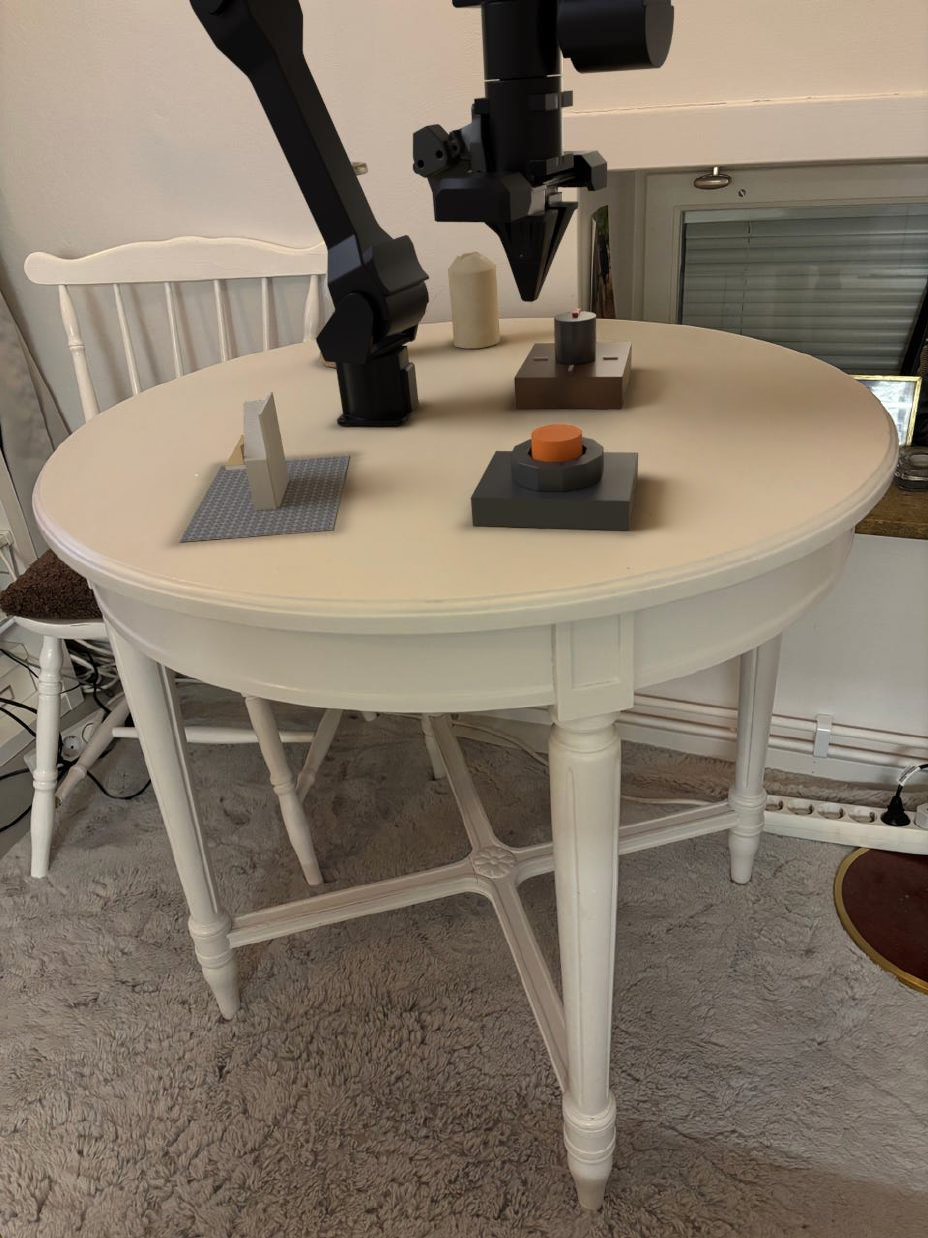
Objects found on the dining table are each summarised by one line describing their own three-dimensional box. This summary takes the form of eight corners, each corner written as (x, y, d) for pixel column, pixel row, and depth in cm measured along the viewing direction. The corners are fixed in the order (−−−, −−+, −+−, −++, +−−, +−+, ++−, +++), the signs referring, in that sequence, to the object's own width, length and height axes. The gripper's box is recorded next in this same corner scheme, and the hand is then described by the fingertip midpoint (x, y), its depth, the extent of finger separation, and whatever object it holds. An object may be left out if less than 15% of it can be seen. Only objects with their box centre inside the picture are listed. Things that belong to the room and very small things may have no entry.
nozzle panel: (515, 408, 86) (513, 375, 84) (535, 371, 96) (534, 341, 94) (621, 408, 83) (622, 374, 82) (631, 370, 93) (631, 339, 92)
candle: (500, 347, 105) (495, 256, 100) (453, 350, 105) (446, 259, 100) (499, 335, 110) (494, 247, 105) (454, 338, 110) (447, 251, 105)
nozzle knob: (593, 363, 86) (593, 317, 84) (551, 364, 87) (550, 318, 85) (598, 352, 89) (598, 307, 87) (558, 352, 90) (557, 308, 88)
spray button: (528, 464, 64) (527, 441, 63) (536, 446, 67) (535, 423, 66) (579, 465, 63) (578, 441, 62) (585, 446, 66) (584, 423, 65)
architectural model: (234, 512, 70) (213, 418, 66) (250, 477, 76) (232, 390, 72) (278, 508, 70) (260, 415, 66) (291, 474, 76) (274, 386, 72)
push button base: (472, 525, 64) (468, 473, 62) (497, 476, 72) (494, 428, 70) (628, 530, 62) (630, 476, 60) (637, 479, 69) (638, 429, 67)
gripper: (486, 78, 76) (495, 273, 84) (358, 92, 62) (384, 322, 71) (611, 70, 71) (608, 278, 79) (501, 82, 57) (511, 331, 66)
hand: (529, 300), depth 74 cm, fingers closed
